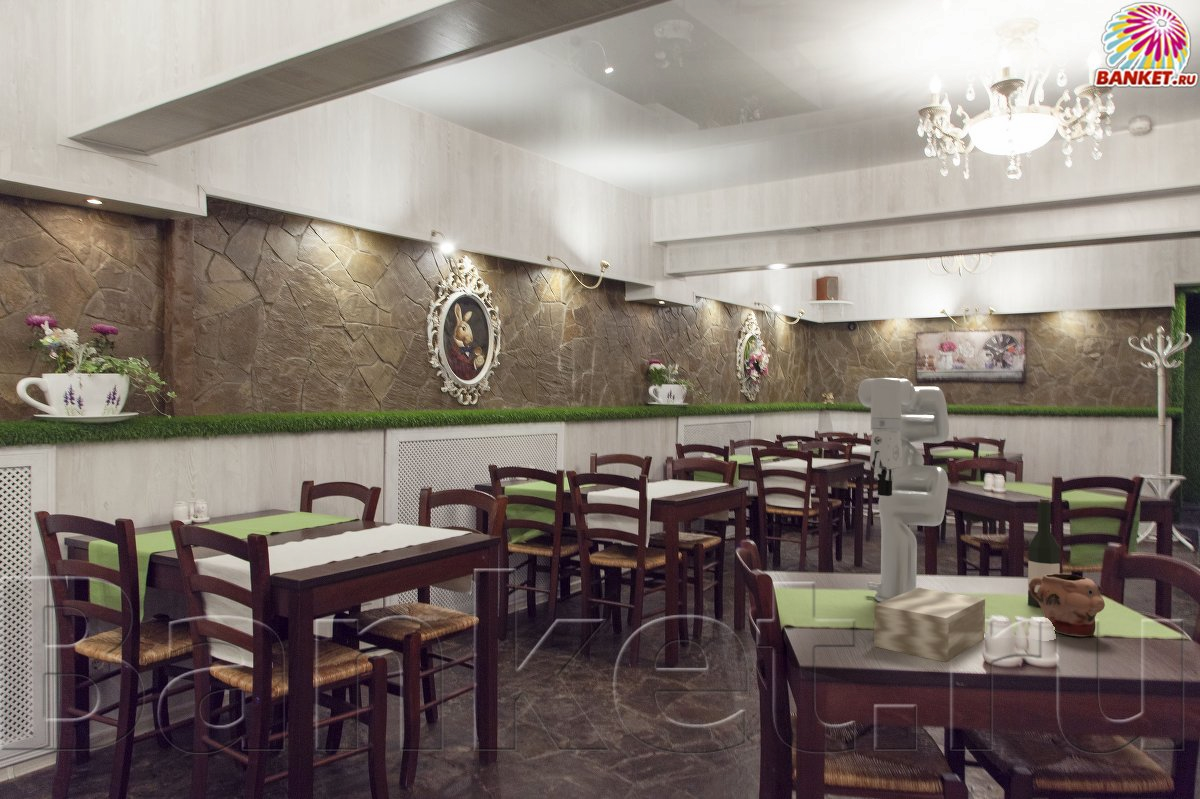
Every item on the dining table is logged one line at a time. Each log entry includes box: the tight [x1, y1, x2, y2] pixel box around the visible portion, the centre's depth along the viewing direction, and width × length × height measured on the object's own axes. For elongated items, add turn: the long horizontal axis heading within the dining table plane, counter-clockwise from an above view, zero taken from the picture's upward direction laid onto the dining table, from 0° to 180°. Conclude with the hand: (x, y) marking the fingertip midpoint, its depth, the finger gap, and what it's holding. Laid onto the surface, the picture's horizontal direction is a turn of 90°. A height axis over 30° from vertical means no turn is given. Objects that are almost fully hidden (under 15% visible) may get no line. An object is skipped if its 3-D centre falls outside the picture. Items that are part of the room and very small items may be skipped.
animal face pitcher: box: [1029, 573, 1106, 637], centre depth 201 cm, size 20×12×14 cm, turn 28°
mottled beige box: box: [873, 587, 986, 663], centre depth 189 cm, size 16×26×10 cm, turn 137°
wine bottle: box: [1027, 498, 1061, 609], centre depth 228 cm, size 8×8×30 cm
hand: (884, 495), depth 210 cm, fingers closed
